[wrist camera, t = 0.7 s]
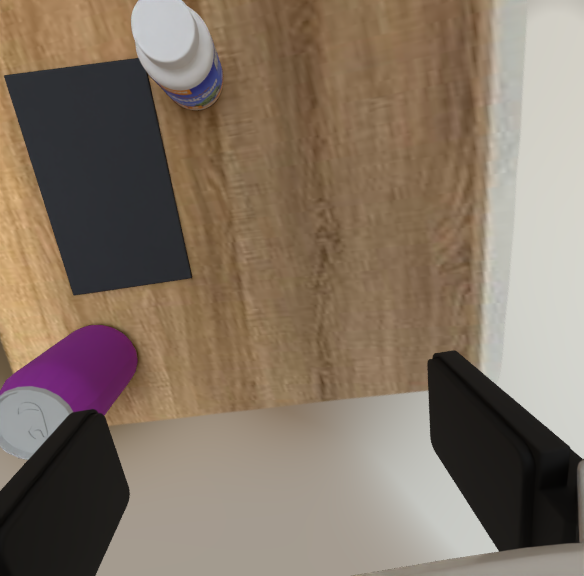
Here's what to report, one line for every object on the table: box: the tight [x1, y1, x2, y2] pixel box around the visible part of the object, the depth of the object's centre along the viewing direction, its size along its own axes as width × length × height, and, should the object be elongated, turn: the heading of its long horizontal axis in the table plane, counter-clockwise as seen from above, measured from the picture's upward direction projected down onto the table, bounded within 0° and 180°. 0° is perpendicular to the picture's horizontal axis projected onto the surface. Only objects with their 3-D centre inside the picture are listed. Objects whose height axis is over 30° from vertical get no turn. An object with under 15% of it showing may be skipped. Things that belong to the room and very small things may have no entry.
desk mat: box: [4, 58, 192, 295], centre depth 33 cm, size 20×12×1 cm, turn 8°
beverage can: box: [0, 325, 138, 460], centre depth 32 cm, size 8×8×12 cm
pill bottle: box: [131, 0, 223, 110], centre depth 27 cm, size 5×5×10 cm
